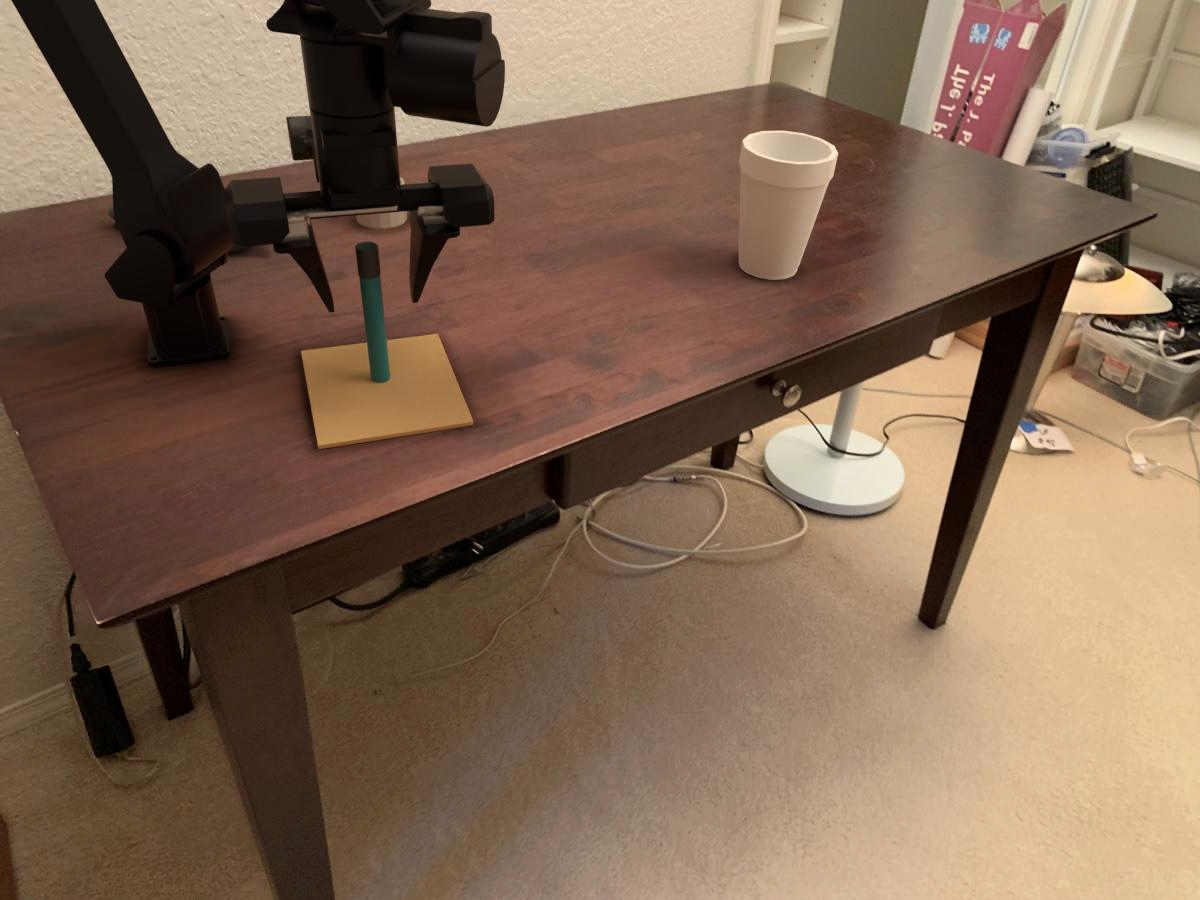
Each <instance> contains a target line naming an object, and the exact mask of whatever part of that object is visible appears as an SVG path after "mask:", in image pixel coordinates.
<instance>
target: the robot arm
mask: <svg viewBox="0 0 1200 900" xmlns="http://www.w3.org/2000/svg"><path fill="white" fill-rule="evenodd" d="M10 1H11V2H12V4H13V7H14V8H15V10H16V11H17V13H18V15H19V16H20V18H21V20H22V21H23V24H24V25H25V27H26V29H27V30H28V32H29V34H30V36H31V38H32V39H33V41H34V42H35V44H36V46H37V48H38V50H39V51H40V53H41V55H42V57H43V58H44V59H45V62H46V63H47V65H48V67H49V68H50V71H51V72H52V74H53V76H54V78H55V79H56V81H57V82H58V84H59V86H60V87H61V89H62V92H63V93H64V94H65V97H66V98H67V100H68V101H69V104H70V106H71V107H72V108H73V110H74V112H75V113H76V115H77V117H78V119H79V120H80V122H81V124H82V126H83V127H84V129H85V131H86V132H87V134H88V136H89V139H91V141H92V143H93V145H94V146H95V148H96V150H97V152H98V153H99V155H100V157H101V159H102V160H103V162H104V164H105V165H106V167H107V169H108V171H109V174H110V176H111V185H112V186H111V188H112V189H111V190H112V191H111V192H112V207H113V216H114V220H113V221H114V222H115V225H116V227H117V230H118V231H119V233H120V235H121V238H122V240H123V243H124V246H125V247H126V248H125V249H124V250H123V251H122V252H121V254H120V255H119V256H118V257H117V259H116V260H115V261H114V262H113V263H112V264H111V266H110V267H109V268H108V269H107V270H106V271H105V273H104V278H105V280H106V282H107V283H108V285H109V286H110V289H111V290H112V291H113V293H114V295H115V296H116V298H118V299H120V300H125V301H130V302H136V303H140V304H141V305H142V309H143V312H144V316H145V319H146V322H147V326H148V341H147V342H148V343H147V344H148V345H147V359H146V360H147V363H148V365H149V367H158V366H159V367H160V366H167V365H177V364H185V363H193V362H199V361H208V360H217V359H224V358H228V357H230V356H231V354H232V353H231V340H230V327H229V326H230V325H229V320H228V317H227V316H220V311H219V306H218V302H217V299H216V294H215V290H214V286H213V285H214V284H213V281H212V276H211V274H212V273H213V272H215V271H216V270H217V269H218V268H220V267H221V266H224V265H225V264H227V262H228V257H229V253H230V252H229V250H230V249H231V248H232V247H233V245H236V246H240V247H248V246H249V247H257V246H269V245H272V248H273V251H274V252H275V253H276V254H280V255H285V254H288V255H290V256H291V257H292V259H293V260H294V261H295V262H296V264H297V265H298V266H299V267H300V269H301V270H302V271H303V272H304V273H305V275H306V276H307V277H308V279H309V280H310V282H311V283H312V285H313V287H314V290H315V291H316V292H317V294H318V296H319V298H320V299H321V301H322V302H323V304H324V306H325V308H326V309H327V311H328V313H330V314H331V313H332V314H333V313H335V303H334V297H333V293H332V289H331V285H330V281H329V279H328V275H327V272H326V269H325V265H324V262H323V258H322V254H321V251H320V248H319V245H318V241H317V238H316V235H315V234H316V233H315V231H314V227H313V224H312V220H319V219H331V218H342V217H352V216H354V217H356V215H367V214H379V213H391V212H403V211H407V212H408V213H409V215H408V216H409V224H410V225H409V226H410V227H409V228H410V241H409V242H410V243H409V247H410V248H409V271H408V282H409V291H410V293H409V294H410V299H411V302H412V303H413V304H418V303H419V302H420V299H421V296H422V294H423V291H424V290H425V286H426V284H427V281H428V279H429V277H430V273H431V272H432V269H433V267H434V265H435V263H436V261H437V259H438V257H439V256H440V254H441V252H442V251H443V249H444V247H445V246H446V244H447V242H448V240H449V239H454V238H458V237H460V235H461V228H469V227H478V226H479V227H481V226H490V225H491V224H492V223H494V222H495V221H496V220H495V217H496V216H495V215H496V214H495V197H494V192H493V189H492V188H491V186H490V184H489V183H488V181H487V179H486V178H485V176H484V175H483V173H482V172H481V170H480V169H478V168H477V167H476V166H475V164H474V163H459V164H446V165H445V164H444V165H431V166H430V165H429V166H428V170H427V181H418V182H415V183H405V184H402V185H401V184H400V177H401V174H400V173H401V171H400V161H399V160H400V159H399V147H398V136H397V134H398V133H397V123H396V110H395V108H400V109H401V111H402V112H403V113H404V114H405V115H407V116H409V117H417V118H423V119H431V120H436V121H437V120H438V121H443V122H451V123H457V124H463V125H471V126H479V127H486V128H488V127H491V126H492V125H493V124H494V123H495V121H496V119H497V117H498V114H499V112H500V109H501V105H502V102H503V98H504V97H503V96H504V91H505V81H506V61H505V59H502V52H501V51H502V50H501V47H500V42H499V40H498V38H497V36H496V35H495V34H494V33H493V17H492V15H491V14H490V13H489V12H486V11H485V12H484V11H477V10H476V11H475V10H474V11H473V10H468V11H464V12H458V11H449V10H443V9H433V8H431V7H432V0H283V2H282V4H281V6H280V7H279V8H278V9H277V10H276V11H275V12H274V13H273V15H271V16H270V17H269V18H268V19H267V20H266V23H265V25H266V28H267V30H268V31H270V32H271V33H279V34H287V35H294V36H299V41H300V48H301V56H302V57H301V58H302V65H303V72H304V78H305V86H306V92H307V101H308V108H309V115H296V116H295V115H293V116H286V117H285V120H286V127H287V132H288V133H287V134H288V139H289V140H288V141H289V146H290V152H291V153H290V154H291V158H292V160H293V161H295V162H297V161H312V160H313V168H314V175H315V180H316V183H318V184H319V190H310V191H297V192H284V191H283V186H282V181H281V177H280V176H275V177H273V176H272V177H259V178H257V177H256V178H245V179H244V178H243V179H231V180H230V181H229V183H228V184H227V185H226V187H225V186H224V184H223V181H222V178H221V175H220V173H219V171H218V169H216V167H215V166H214V165H213V164H212V163H210V162H209V163H206V164H204V165H202V166H200V167H198V166H197V165H195V163H193V162H191V161H190V160H189V159H187V158H186V157H185V156H183V155H182V154H181V153H179V152H178V151H177V150H176V149H175V147H174V145H173V144H172V143H171V141H170V139H169V137H168V135H167V133H166V131H165V129H164V128H163V125H162V124H161V121H160V120H159V118H158V117H157V114H156V112H155V110H154V108H153V107H152V105H151V103H150V101H149V99H148V98H147V96H146V94H145V91H144V90H143V88H142V86H141V84H140V83H139V81H138V79H137V76H136V75H135V73H134V71H133V69H132V67H131V65H130V63H129V61H128V59H127V58H126V56H125V54H124V52H123V50H122V49H121V47H120V45H119V43H118V41H117V39H116V37H115V35H114V34H113V32H112V30H111V28H110V26H109V24H108V22H107V20H106V18H105V16H104V15H103V13H102V11H101V9H100V8H99V5H98V3H97V2H96V0H10ZM249 247H248V248H249Z"/></svg>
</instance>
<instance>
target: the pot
mask: <svg viewBox="0 0 1200 900" xmlns="http://www.w3.org/2000/svg"><path fill="white" fill-rule="evenodd" d="M400 184H401V185H402V184H406V182H405V180H404V178H403V177H401V176H400ZM355 220H356V223H358V224H359V225H360V226H363V227H364V228H368V229H375V230H383V229H384V230H385V229H386V230H387V229H392V228H396V227H399V226H402V225H403V224H405V223H406V222H407V220H408V211H403V212H391V213H379V214H367V215H356V216H355Z"/></svg>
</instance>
